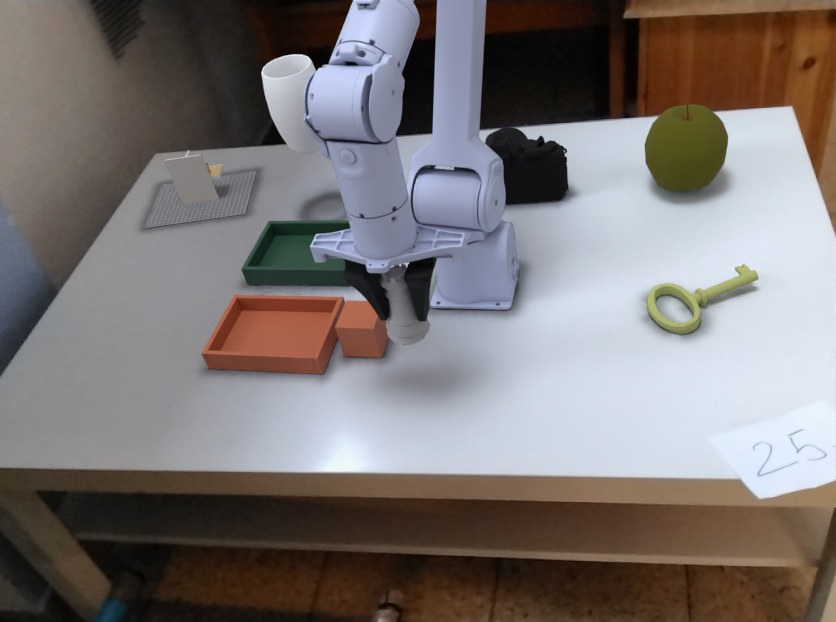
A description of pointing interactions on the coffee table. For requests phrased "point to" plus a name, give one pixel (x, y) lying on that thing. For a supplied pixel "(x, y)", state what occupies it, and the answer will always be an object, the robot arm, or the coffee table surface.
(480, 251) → the robot arm
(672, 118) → the apple
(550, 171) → the film camera
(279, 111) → the cup
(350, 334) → the terracotta block
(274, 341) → the terracotta tray
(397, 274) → the rook chess piece
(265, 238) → the green tray
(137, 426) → the coffee table surface
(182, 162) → the architectural model
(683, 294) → the key
